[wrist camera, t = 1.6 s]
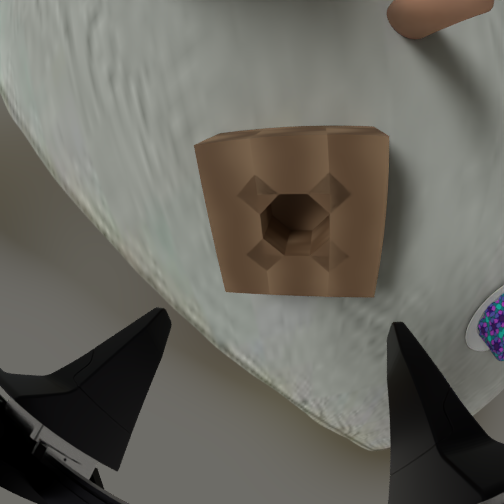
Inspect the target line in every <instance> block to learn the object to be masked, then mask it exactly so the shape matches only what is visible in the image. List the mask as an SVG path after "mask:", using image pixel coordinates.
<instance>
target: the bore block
mask: <svg viewBox="0 0 504 504" xmlns="http://www.w3.org/2000/svg"><path fill="white" fill-rule="evenodd" d="M194 148H195V153H196V158H197V163H198V168H199V174H200V179H201V183H202V188H203V193H204V198H205V203H206V208H207V212H208V217H209V222H210V226H211V231H212V235H213V240H214V244H215V249H216V253H217V257H218V262H219V266H220V270H221V274H222V279H223V283H224V287H225V291H226V292H235V293H251V294H270V295H293V296H323V297H374V294H375V289H376V284H377V278H378V272H379V266H380V259H381V252H382V245H383V237H384V228H385V218H386V207H387V193H388V174H389V136H388V135H386V134H385V133H383V132H381V131H380V130H378V129H377V128H375V127H370V126H298V127H280V128H266V129H255V130H245V131H236V132H228V133H220V134H217V135H215V136H213V137H211V138H209V139H206V140H204V141H202V142H200V143H198V144H196V145H194Z"/></svg>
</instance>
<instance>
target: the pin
mask: <svg viewBox="0 0 504 504" xmlns="http://www.w3.org/2000/svg"><path fill="white" fill-rule="evenodd" d="M493 4H494V0H394V1H393V2H392V3H391V4H390V6H389V7H388V9H387V18H388V20H389V23H390V24H391V26H392V27H393V28H394V29H395V30H396V31H397V32H398V33H399V34H401V35H402V36H404V37H406V38H409V39H421V38H424V37H426V36H428V35H430V34H432V33H435V32H437V31H439V30H441V29H444V28H446V27H449V26H451V25H453V24H456V23H458V22H461V21H464V20H466V19H469V18H472V17H474V16H477V15H480V14H483V13H486V12H489V11H490V10H491V9H492V8H493Z"/></svg>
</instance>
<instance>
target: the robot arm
mask: <svg viewBox="0 0 504 504" xmlns="http://www.w3.org/2000/svg"><path fill="white" fill-rule="evenodd" d="M170 329H171V320H170V318H169V316H168V313H167V311H166V310H165V309H164V308H159V307H156V308H154V309H153V310H151V311H150V312H148V313H147V314H145V315H144V316H142V317H141V318H139V319H138V320H136V321H135V322H133V323H132V324H130V325H129V326H127V327H126V328H124V329H123V330H121V331H120V332H118V333H117V334H115V335H114V336H112V337H111V338H109V339H108V340H106V341H105V342H103V343H102V344H100V345H99V346H97V347H96V348H95V349H93V350H91V351H90V352H88V353H87V354H85V355H84V356H82V357H80V358H79V359H77V360H75V361H74V362H72V363H70V364H68V365H66V366H65V367H63V368H61V369H59V370H58V371H56V372H54V373H52V374H49V375H45V376H35V375H21V374H11V373H6V372H4V371H3V370H2V369H1V368H0V386H1V387H2V388H3V389H4V390H5V392H6V393H7V394H8V395H9V396H10V398H9V400H8V401H7V400H6V399H5V398H4V397H2V396H1V395H0V486H1V487H3V488H5V489H7V490H8V491H10V492H12V493H15V494H17V495H19V496H21V497H23V498H26V499H28V500H30V501H33V502H35V503H37V504H128V503H127V502H125V501H123V500H121V499H119V498H117V497H115V496H114V495H112V494H111V493H109V492H107V491H105V490H104V488H103V484H102V481H101V478H100V475H99V472H98V469H97V468H96V465H97V463H98V462H100V463H102V464H104V465H106V466H108V467H110V468H111V469H114V470H115V471H118V469H119V467H120V464H121V461H122V459H123V456H124V453H125V450H126V448H127V445H128V442H129V439H130V437H131V434H132V431H133V428H134V426H135V423H136V421H137V418H138V415H139V413H140V410H141V408H142V405H143V402H144V400H145V397H146V395H147V392H148V390H149V387H150V385H151V382H152V380H153V377H154V375H155V373H156V370H157V368H158V365H159V363H160V361H161V358H162V355H163V352H164V349H165V345H166V342H167V338H168V336H169V332H170ZM387 385H388V397H389V412H390V439H391V463H390V464H391V465H390V475H391V476H390V486H389V500H388V504H504V444H503V443H500V442H497V441H495V440H494V439H492V438H491V437H490V436H488V435H487V433H486V432H485V431H484V430H483V429H482V427H481V426H480V425H479V424H478V422H477V421H476V420H475V419H474V417H473V416H472V415H471V414H470V413H469V411H468V410H467V409H466V407H465V406H464V405H463V404H462V402H461V401H460V399H459V398H458V396H457V395H456V394H455V392H454V391H453V389H452V388H451V387H450V385H449V383H448V382H447V381H446V379H445V378H444V376H443V375H442V373H441V372H440V371H439V369H438V368H437V366H436V365H435V364H434V362H433V361H432V359H431V358H430V357H429V355H428V354H427V353H426V351H425V350H424V349H423V347H422V346H421V345H420V343H419V342H418V341H417V339H416V338H415V337H414V335H413V334H412V333H411V331H410V330H409V329H408V328H407V326H406V325H405V324H404V323H403V322H393V323H392V325H391V328H390V331H389V334H388V337H387Z"/></svg>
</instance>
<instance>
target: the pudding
mask: <svg viewBox="0 0 504 504" xmlns="http://www.w3.org/2000/svg"><path fill="white" fill-rule="evenodd" d="M503 293H504V285H503V286H502V287H500V288H499V289H498V290H497V291H495V292H494V293H493V294H492V295H491V296H490V297H489V298H487V299H486V301H485V302H484V303H483V304H482V305H481V306H480V307H479V309H478V310H477V311H476V313H475V314H474V316H473V317H472V319H471V321H470V323H469V325H468V327H467V331H466V336H465V339H466V343H467V345H468V347H470V348H471V349H473V350H475V351H487V350H491V352H492V353H493V354H494V356H495V357H496V359H498V360H499V361H504V294H503ZM501 294H502V295H501ZM500 295H501V296H500ZM499 296H500V298H499V299H498V301H496V302H493V301H494V300H495V299H496V298H497V297H499ZM492 302H493V303H492ZM491 303H492V304H491ZM490 304H491V305H490ZM489 305H490V306H489ZM487 307H488V308H487ZM485 310H486V311H485ZM484 311H485V315H484V317H483V318H482V319H481V320H480V318H481V316H482V314H483V313H484ZM479 320H480V321H479ZM478 322H479V324H478ZM477 325H478V329H479V331H480V334H479V335H480V336H479V335H478V333H477Z"/></svg>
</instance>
